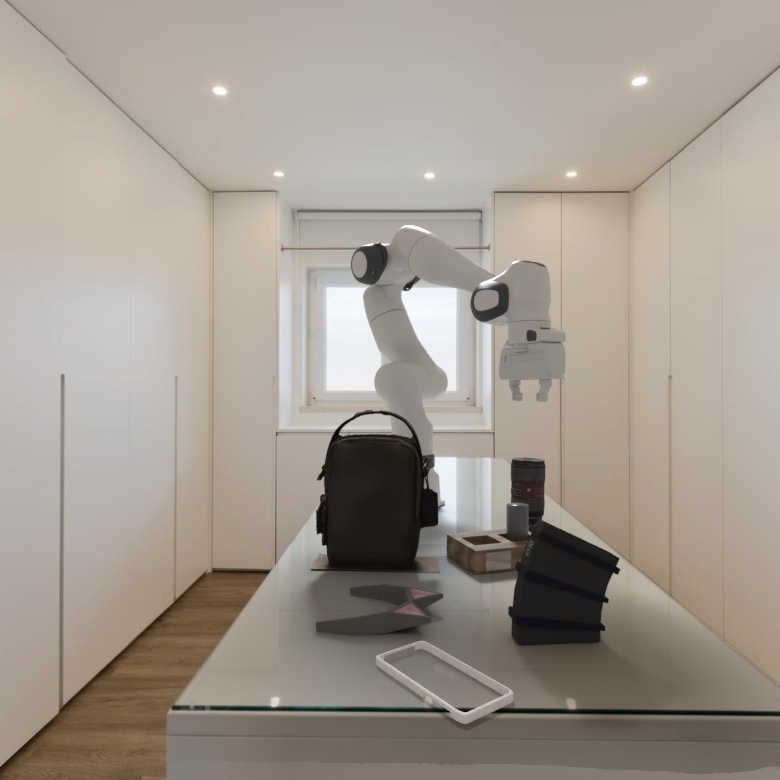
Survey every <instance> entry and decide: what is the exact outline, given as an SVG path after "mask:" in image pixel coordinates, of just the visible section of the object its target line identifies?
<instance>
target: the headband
mask: <svg viewBox="0 0 780 780" xmlns="http://www.w3.org/2000/svg"><path fill="white" fill-rule="evenodd" d="M349 595H350V597H351V596H353V597H359V598H367V599H373V600H378V601H379V600H380V601H384V602H388V603H392V604H397V606H395V607H393V608H390V609H389V610H385V611H380V612H376V613H370V614H369V613H368V614H363V615H359V616H350V617H344V618H337V619H335V618H334V619H329V620H328V619H327V620H321V621H315V631H316V632H318V633H327V634H334V635H345V636H353V637H354V636H356V637H360V636H363V637H365V636H372V635H380V634H381V635H383V634H389V633H393V632H396V631H400V630H404V629H409V628H413V627H418V626H423V625H425V624H430V623H432V618H431V617H430V615H428V614H427V613H426V612H425V611H424V610H425V609H427V608H428V607H431V605H433V604H435V603H437V602H438V601H440V600H442V599H443V598H444V593H441V592H437V591H432V590H426V589H421V588H415V587H410V586H405V585H396V584H385V583H380V584H371V585H362V586H361V585H360V586H352V587H349Z"/></svg>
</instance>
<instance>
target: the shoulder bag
mask: <svg viewBox="0 0 780 780" xmlns="http://www.w3.org/2000/svg"><path fill="white" fill-rule="evenodd" d="M374 414H375V415H377V414H379V415H383V416H389V415H390V416H393V417H395V418H397V419H399V420H401V421H402V422H404V423H405V424H406V425H407V427H408V428H409V429H410V431H411V433H412V434H413V436H412V438H409V437H403V436H399V435H393V434H392V433H391V434H386V433H385V434H381V433H379V434H378V433H369V434H365V433H364V434H347V435H340V433H341V431H342V430H343V428H345V426H346V425H347V424H349V423H351V422H352V421H354V420H356V419H357V418H360V417H362V416H367V415H368V416H369V415H374ZM390 416H389V417H390ZM427 459H428V460H427ZM426 461H427V464H426V466H425V467H424V464H425V463H426ZM429 461H430V457H427V458H426V459H425V461H424V462H423V457H422V452H421V447H420V443H419V439H418V436H417V434H416V432H415V430H414V428H413V427H412V425H411V424H410V423H409V422H408V421H407V420H406V419H405V418H403V417H402V416H399V415H398V414H396V413H393V412H389V411H388V410H381V409H380V410H373V409H366V410H364V411H358V412H356V413H354V415H353V416H352V417H350V418H348V419H346V420H344V421H343V422H342V423H341V424H340V425H338V427H337V428H336V429H335V431H334V432H333V434H332V436H331V438H330V441H329V443H328V447H327V449H326V454H325V459H324V464H323V465H322V466H321V472H320V473H318V475H317V478H316V481H318V482H319V481H322V480H323V486H324V493H323V494H320V496H319V501H320V503H319V504H318V507H317V509H315V514H316V516H315V523H316V524H315V529H316V530H315V531H316V535H319V534H320V535H321V546H323V547H325V549H326V553H319V555H318V556H317V558H316V559H315V561H314V562H313V564H312V565H311V567H310V569H311V570H334V571H335V570H336V571H338V570H339V571H363V572H364V571H368V572H370V571H371V572H373V571H374V572H400V573H401V572H403V573H428V574H429V573H431V574H437V573H440V572H441V569H440V562H439V560H440V559H439V558H438V556H437V557H436V556H435V557H434V556H417V553H418V550H419V545H420V537H421V535H420V534H421V530H422V529H424V528H429V527H431V528H433V527H437V526H439V525H438V524H439V507H438V493H437V492H434V491H433V490H432V489H429V483H428V482H429V481H428V471H427V469H426V468H427V467H428V465H429ZM425 475H426V476H425ZM426 477H427V479H426ZM323 478H324V479H323ZM424 478H425V481H426V484H427V488H426V489H424Z"/></svg>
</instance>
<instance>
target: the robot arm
mask: <svg viewBox="0 0 780 780" xmlns="http://www.w3.org/2000/svg"><path fill="white" fill-rule="evenodd" d="M390 241H391V242H390V243H381V241H380V242H373V243H369V244H365V245H361V246H358V247H357V248H356V249H355V251H354V252H353V254H352V257H351V260H350V269H351V273H352V276H353V278H354V279H355V280H356V281H357V282H358V283H360V284H364V285H367V288H366V289H365V290H364V292H363V294H362V295H363V296H362V300H363V306H364V312H365V315H366V319H367V322H368V325H369V328H370V331H371V333H372V336H373V338H374V341H375V345H376V346H377V349H378V351H379V353H380V354H381V355H382V356H384V357H385V358H386V359H387V360H388V361H389V363H388V362H387V363H386V364H383V365H381V366H380V367H379V368H378V369H377V370H376V373H375V374H374V375H375V376H374V379H373V384H374V389H375V392H376V393H377V395H378V396H379V397H380V398H381V400H382V401H383V402H384V404H385V406H386V409H387V410H386V411H389V412H393V413H396V414H398V415H399V416H402V417H403V418H405V419H406V420H407V421H408V422H409V423H410V424H411V425H412V427H413V428H414V430H415V432H416V434H417V436H418V439H419V443H420V447H421V452H422V457H423V462H424V461H425V459H426V458H427V457H430V461H429V465H428V467H427V468H426V469H427V471H428V481H429V482H428V483H429V489H432V490H433V491H434V492H437V493H438V508H439V507H440V506H444V505H446V502H445V501H446V500H445V499H442V498H441V486H440V476H439V473H438V472H436V471H435V469H434V468H435V466H436V465H435V463H436V458H435V454H434V427H433V423H432V421H431V420H429V418H428V417H427V415H426V412H425V407H424V403H430V402H432V401H434V400H436V399H439V398H442V396H444V395H445V393H446V391H447V389H448V387H449V386H448V385H449V379H448V376H447V373H446V371H445V370H444V369H443V368H441V366H439V365H438V364H436V362H435V361H434V359H433V358H432V357H431V355H430V354H429V353H428V351H427V350H426V348H425V347H424V345H423V344H422V342H421V341H420V339H419V338H418V336H417V334H416V330H415V329H414V326H413V324H412V322H411V319H410V316H409V314H408V312H407V309H406V307H405V305H404V303H403V300H402V293H403V291H404V292H409V291H410V290H412V288H413V287H414V285H415V284H417V283H418V282H419V281H420V280H422V281H424V282H427V283H430V284H433V285H436V286H440V287H447V288H453V289H457V290H463V291H466V292H469V293H471V297H470V302H469V303H470V304H469V305H470V310H471V313H472V315H473V317H474V318H475V320H477V321H479V322H481V323H483V324H487V325H494V326H499V327H500V326H501V327H507V329H508V330H507V334H508V335H507V336H508V337H507V338H508V339H507V340H506V341H505V344H504V345H503V346H502V347H503V348H502V349H501V350H500V356H499V364H498V376H499V380H501V381H508V386H509V389H510V391H511V399H512V401H513V402H522V401H523V395H524V393H523V392H521V388H520V386H521V381H531V380H534V381H537V380H538V385H539V390H538V393H537V392H536V393H535V395H536V398H535V399H536V402H537V403H546V402H548V400H549V399H548V397H549V392H550V390H551V388H552V387H551V386H552V380H562V379H563V377H564V375H565V373H566V347H565V345H564V344H563V343H565V342H566V338H567V337H566V335H567V334H566V332H565V331H563V330H560V329H558V328H555V327H552V326H551V324H552V319H551V317H550V306H551V302H552V301H551V300H552V297H551V296H552V295H551V294H552V293H551V290H552V289H551V287H552V286H551V278H550V272H549V269H548V267H547V265H545V264H544V263H542V262H537V261H534V260H533V261H532V260H523V259H521V260H515V261H513V262H512V263H510V265H509V266H508V267H507V269H506V270H504V271H503V272H502V273H500V274H499V275H497V276H496V275H494V274H493V273H490V272H489V271H488V270H485V269H484V268H482V267H481V266H478V265H477V264H476V263H474V262H473V261H472V260H470V259H469V258H468V257H466V256H465V255H464V254H462V252H460V251H458V250H457V249H456V248H455V247H453V246H452V245H450V244H449V243H447V242H446V241H445V240H444V239H442V238H441V237H439V236H438V235H436V234H435V233H433V232H431V231H429V230H427V229H424V228H421V227H418V226H416V225H404V226H402V227H400V228H399V229H397V231H396V232H395V233H394V234H393V237H392V238H391V240H390ZM388 417H389V419H390V425H391V434H393V435H399V436H403V437H409V438H412V436H413V434H412V433H411V431H410V429H409V428H408V427H407V425H406V424H405V423H404V422H402V421H401V420H399V419H397V418H395V417H393V416H390V415H388ZM427 460H428V459H427ZM426 464H427V461H426V463H425V464H424V467H425V466H426ZM425 476H426V475H425ZM426 479H427V477H426ZM426 488H427V484H426V481H425V478H424V489H426Z"/></svg>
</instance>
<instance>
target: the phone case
mask: <svg viewBox="0 0 780 780" xmlns="http://www.w3.org/2000/svg"><path fill="white" fill-rule="evenodd" d="M411 647H413V648H414V651H418V650H424V651H426V652H429V653H430V654H432V655H433V656H435V657H437V658H439V659H441V660H442V661H444V662H446V663H448V664H449V665H451V666H452V667H454V668H456V669H458V670H459V671H461V672H463V673H464V674H466V675H468V676H469V677H472V678H473V679H475V680H476V681H478V682H480V683H481V684H483V685H485V686H487V687H489V688H490V689H493V690H494V691H495V692H497V693H499V694H501V695H502V696H499V697H496V698H495V699H493V700H490V701H489V702H486V703H484V704H481V705H479V706H478V707H475V708H473V709H471V710H469V711H467V712H464V711H462V710H459V709H457V708H456V707H455V706H452V705H451V704H449V703H448V702H446V701H445V700H443V699H442V698H441V697H439V696H438V695H436V694H435V693H433V692H431V690H429V689H427V688H426V687H424V686H423V685H421V684H419V682H417V681H415V680H414V679H412V678H411V677H409V676H408V675H406V674H405V673H403V672H402V671H400V670H398V669H397V668H396V667H394V666H393V665H391V664H390V663H388V662H387V661H385V657H386V656H389V655H391V654H394V653H398V652H401V651H404V650H407V649H409V648H411ZM375 659H376V660H375V661H376V662H375V664H376V666H377V667H378V668H379V669H380V670H382V671H383V672H385V673H387V674H388V676H391V677H392V678H393V679H395V680H396V681H398V682H399V683H400V684H403V686H405V687H407V688H409V689H410V691H413V692H414V693H416V694H417V695H418V696H420V697H421V698H422V699H423V698H425V697H426V696H427V697H428V698H430V700H432V701H434V702H435V703H437V704H438V705H439V706H441V707H443V708H444V709H445V710H447V711H449V716H450V718H452V720H454V721H456V722H458V723H460V724H463V725H468V724H470V723H472V722H474V721H476V720H478V719H481V718H482V717H484V716H487V715H489V714H491V713H493V712H496V711H497V710H500V709H501V708H503V707H505V706H508V705H510V704H513V702H514V692H513V690H512V689H511V688H509V687H508V686H506V685H504V684H502V683H500V682H499V681H497V680H495V679H493V678H492V677H490V676H488V675H486V674H484V673H483V672H481V671H480V670H478V669H475V668H474V667H473V666H471V665H469V664H467V663H465V662H463V661H461V660H460V659H458V658H456V657H454V656H452V655H451V654H449V653H447V652H445V651H444V650H442V649H441V648H438V647H437V646H436V645H435V646H434V645H433V644H432V643H429V642H427V641H425V640H417V641H415V642H413V643H409V644H406V645H403V646H400V647H397V648H394V649H391V650H389V651H385V652H383V653H379V654H377V655H376V656H375Z"/></svg>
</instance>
